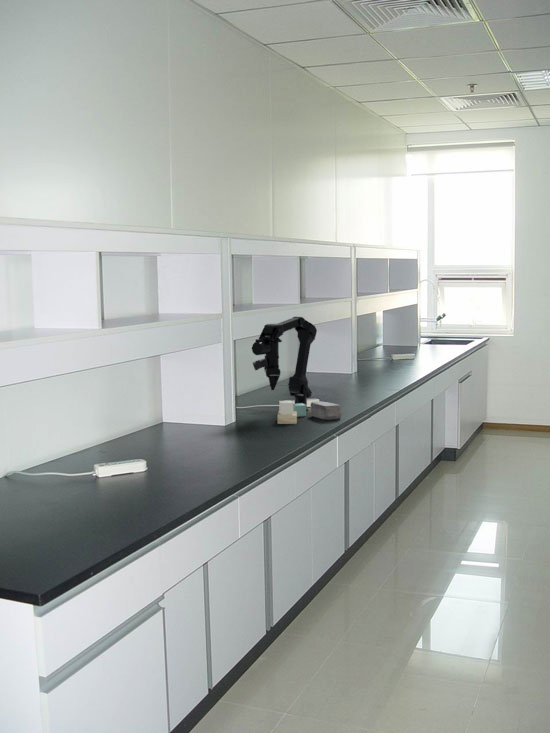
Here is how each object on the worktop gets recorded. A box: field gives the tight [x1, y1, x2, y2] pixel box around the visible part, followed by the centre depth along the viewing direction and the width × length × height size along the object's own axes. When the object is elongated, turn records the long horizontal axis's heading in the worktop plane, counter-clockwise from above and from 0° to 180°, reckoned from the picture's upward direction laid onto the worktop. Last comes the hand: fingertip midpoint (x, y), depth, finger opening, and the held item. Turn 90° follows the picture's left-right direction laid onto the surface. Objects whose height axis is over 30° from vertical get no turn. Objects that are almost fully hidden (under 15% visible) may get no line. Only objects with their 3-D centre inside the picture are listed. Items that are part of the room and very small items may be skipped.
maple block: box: [277, 411, 298, 425], centre depth 345 cm, size 8×8×4 cm
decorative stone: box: [310, 400, 342, 421], centre depth 353 cm, size 15×7×10 cm
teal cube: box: [293, 403, 307, 418], centre depth 359 cm, size 5×5×5 cm
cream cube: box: [278, 400, 294, 415], centre depth 344 cm, size 5×5×5 cm
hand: (272, 388), depth 355 cm, fingers open, 9 cm apart
